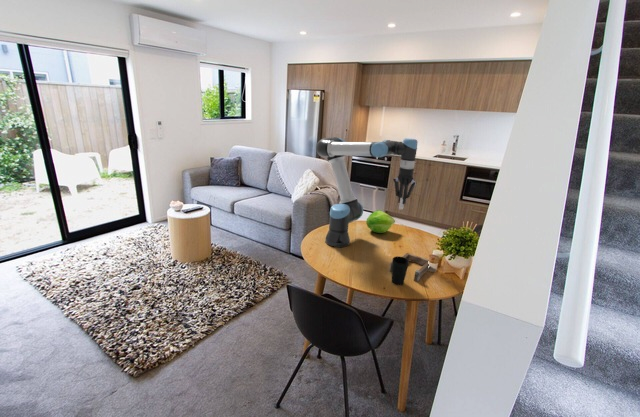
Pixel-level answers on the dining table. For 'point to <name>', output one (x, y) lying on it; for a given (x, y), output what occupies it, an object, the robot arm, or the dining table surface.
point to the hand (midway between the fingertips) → (400, 208)
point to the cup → (399, 270)
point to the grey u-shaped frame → (419, 261)
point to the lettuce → (379, 222)
